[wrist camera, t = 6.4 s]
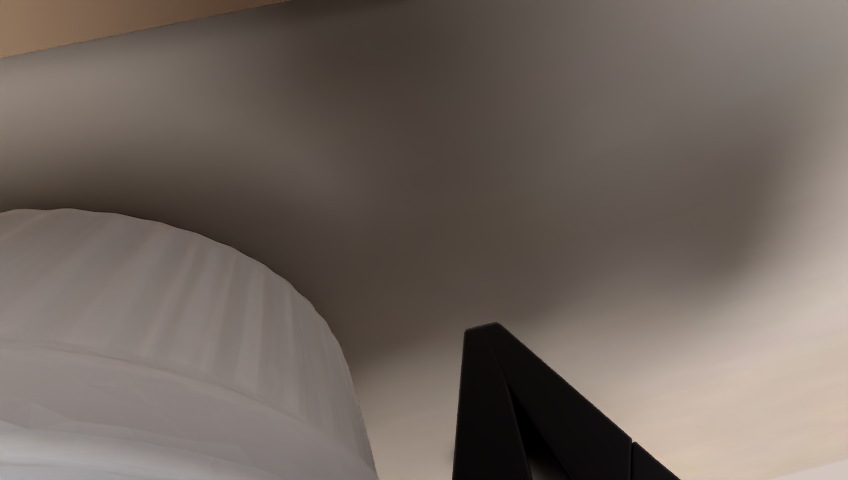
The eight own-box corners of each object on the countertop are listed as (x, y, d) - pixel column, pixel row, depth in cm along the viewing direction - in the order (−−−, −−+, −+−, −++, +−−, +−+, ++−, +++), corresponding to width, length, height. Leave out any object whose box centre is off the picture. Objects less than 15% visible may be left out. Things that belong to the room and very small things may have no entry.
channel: (244, 524, 14) (225, 651, 12) (-277, -21, 5) (-895, 5, 3) (582, 433, 15) (635, 534, 12) (651, -189, 6) (906, -300, 3)
